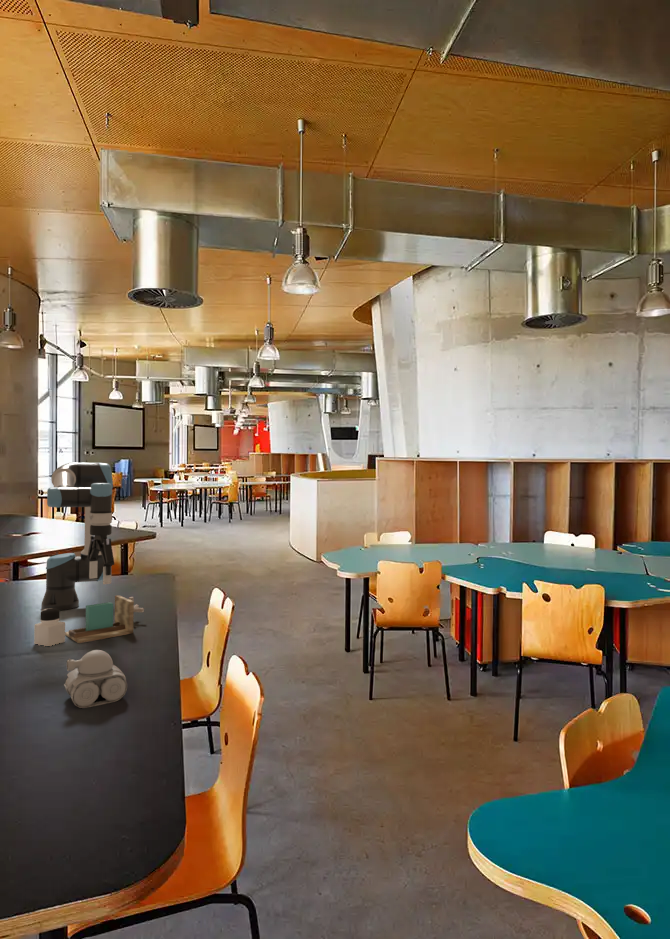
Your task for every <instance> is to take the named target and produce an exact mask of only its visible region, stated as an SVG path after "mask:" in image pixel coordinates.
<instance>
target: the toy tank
mask: <svg viewBox="0 0 670 939" xmlns="http://www.w3.org/2000/svg"><path fill="white" fill-rule="evenodd" d="M66 670H67V672H68V673H67V674H66V676H67V678H66V680H65V683H63V686H64V688H65V691H66V692H67V695H69V696H70V698H71V702H72V703H73V704H74V706H76V707H78V708H80V709H81V708H82V709H86V708H91V707H96V706H101V705H106V704H110V703H115V702H117V701H120V700H121V699H122V698H124V696H125V695H126V692H127V689H128V683H127V677H126V676H125V674H124V672H123V671H122V670H121V669H120V668H119V667H118V666H116V665H115V664H114V662H113V659H112V657H111V655H110V654H109V653H108V652H107V651H104V650H100V649H93V650H90V651H88V652H86V653H85V654H83V656H82V657H81V658H80V659H78V660H77V659H76V660H75V659H71V658H68V660H67V661H66ZM99 696H101V697H102V698H103V699H105V700H99V701H96V700H98V698H99ZM95 701H96V702H95Z"/></svg>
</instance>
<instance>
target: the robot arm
mask: <svg viewBox="0 0 670 939" xmlns="http://www.w3.org/2000/svg"><path fill="white" fill-rule="evenodd" d="M112 473H113V472H112V468H111V465H110V464H109V463H107V462H77V461H76V462H74V461H73V462H68V463H65V464H63V465H61V466H58V467H57V468H56V469H55V470H54V471H53V472H52V475H51V479H50V480H51V484H52V486H53V487H48V488H47V490H46V491H47V496H46V497H47V499H46V504H47V506H48V507H49V508H56V509H58V508H84V548H83V549H82V550H81V551H80V555H77V556H76V554H75V552H67V553H60V554H56V555H52V556H50V557H48V558H47V560H46V565H45V566H46V567H45V570H46V571H45V572H46V574H45V575H46V577H45V579H46V580H45V584H46V585H45V593H44V596H43V598H42V601H41V608H40V609H41V610H44V609H49V608H56V609H59V610H60V611H65V610H72V609H76V608H77V607H79V605H80V600H79V597H78V594H77V591H76V583H84V582H85V583H86V582H101V581H102V584H103V585H108V584H109V585H110V584H112V566H115V560H114V554H113V547H112V538H108V536H111V535H112V533H113V532H112V525H111V524H112V523H113V522H112V521H113V511H112V508H113V507H112V505H113V503H112V502H113V488H114V481H113V474H112Z"/></svg>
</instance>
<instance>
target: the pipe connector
mask: <svg viewBox="0 0 670 939" xmlns="http://www.w3.org/2000/svg"><path fill="white" fill-rule="evenodd" d="M128 599H129V600H132V601H134V596H130V597H129V596H128ZM134 602H135V601H134ZM139 606H140V605H139V604H137V603H136V604H134V613H144V611H145V608H144V607H139Z"/></svg>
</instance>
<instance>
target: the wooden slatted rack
mask: <svg viewBox="0 0 670 939" xmlns="http://www.w3.org/2000/svg"><path fill="white" fill-rule="evenodd" d="M134 605H135V601H132V600H129V598H127V597H124V596H122V595H119V594H117V595H114V622H113V627H107V628H102V629H96V630H90V631H86V627H80V628H75V629H74V628H73V629H70V630H68V631H65V637H68V638H69V639H71V640H72V641H74V642H76V643H77V644H82V643H87V642H94V641H97V640H104V639H108V638H109V639H110V638H115V637H120V636H126V635H131V634H134V613H135V612H134Z"/></svg>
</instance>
